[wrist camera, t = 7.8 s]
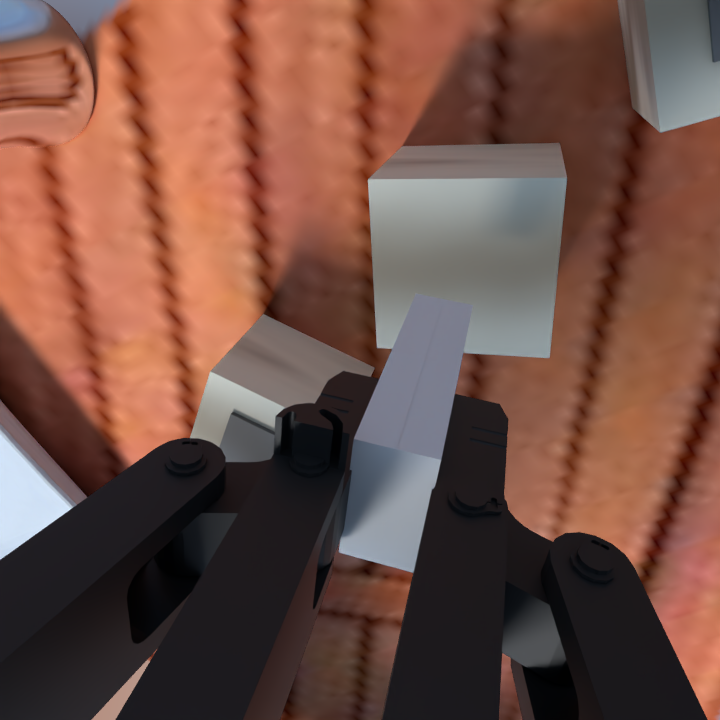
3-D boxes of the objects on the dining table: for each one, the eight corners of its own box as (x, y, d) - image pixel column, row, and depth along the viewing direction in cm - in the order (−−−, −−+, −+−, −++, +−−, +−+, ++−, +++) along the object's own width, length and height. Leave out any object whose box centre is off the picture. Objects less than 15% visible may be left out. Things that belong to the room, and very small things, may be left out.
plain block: (546, 291, 26) (549, 357, 21) (406, 286, 27) (377, 347, 22) (559, 142, 23) (566, 177, 18) (402, 145, 25) (367, 179, 19)
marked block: (333, 452, 33) (296, 531, 28) (233, 403, 33) (177, 473, 28) (375, 367, 30) (342, 439, 25) (263, 313, 30) (208, 373, 25)
